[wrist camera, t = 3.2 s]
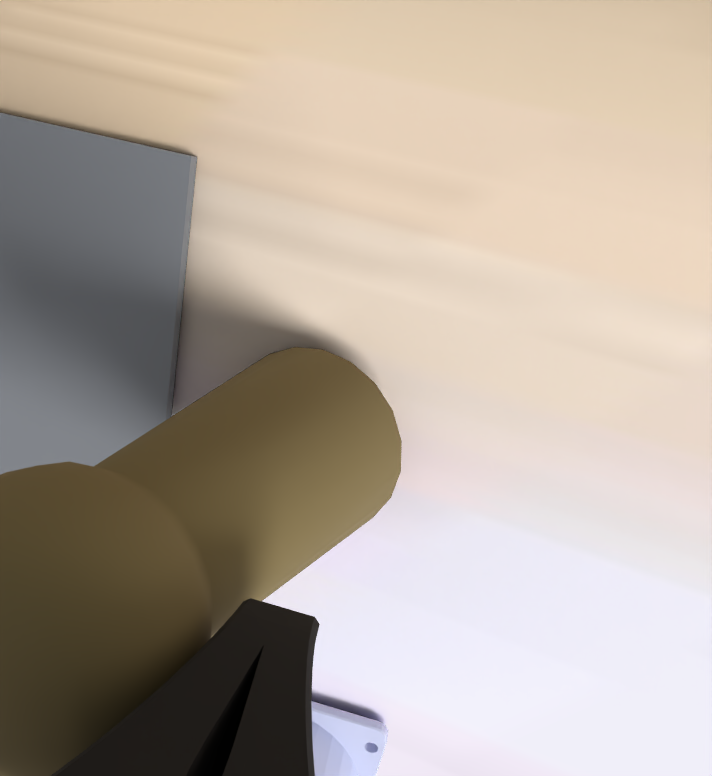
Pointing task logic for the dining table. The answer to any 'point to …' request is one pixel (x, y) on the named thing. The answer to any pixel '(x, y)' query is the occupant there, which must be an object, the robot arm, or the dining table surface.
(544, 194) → the dining table surface
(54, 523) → the cork
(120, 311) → the mat
